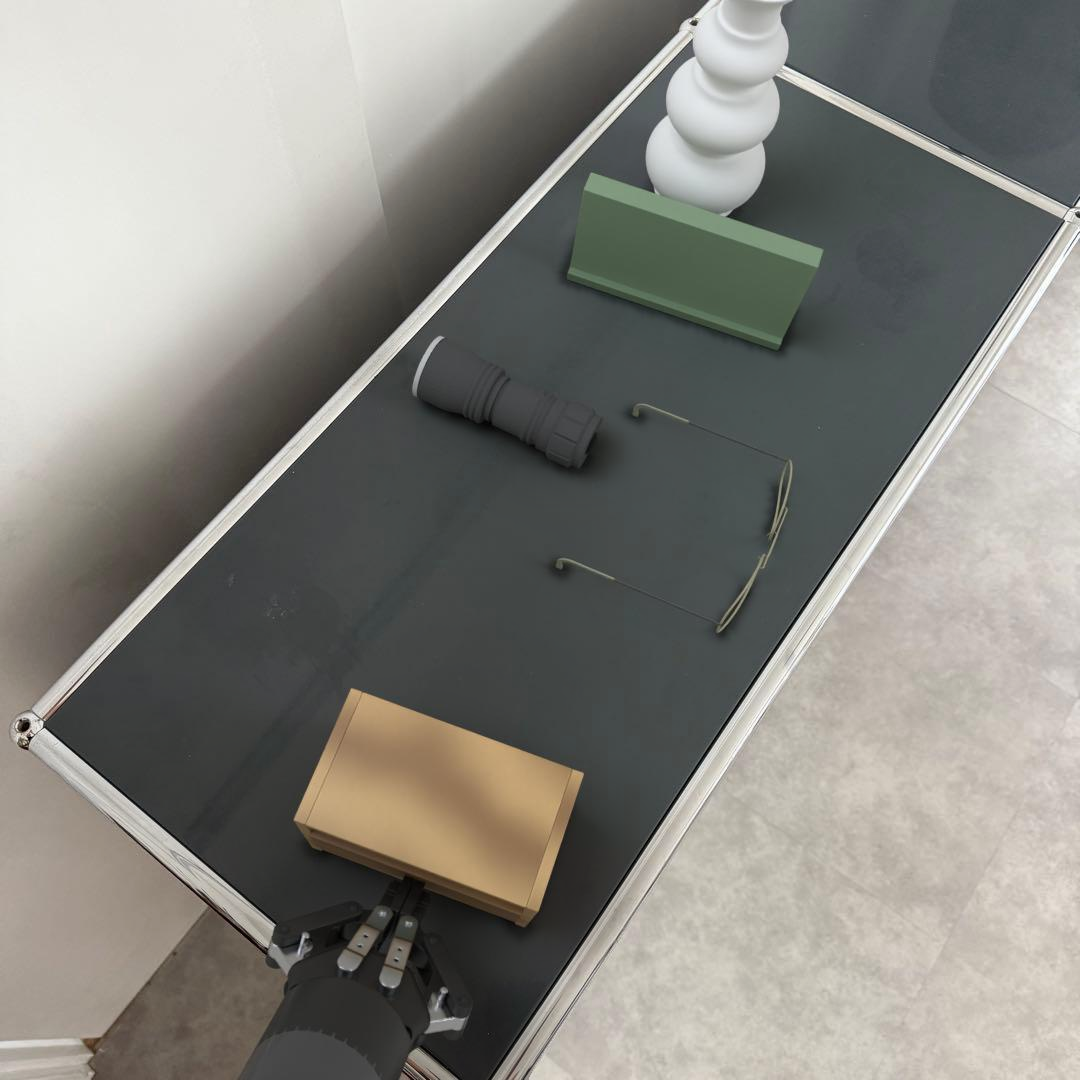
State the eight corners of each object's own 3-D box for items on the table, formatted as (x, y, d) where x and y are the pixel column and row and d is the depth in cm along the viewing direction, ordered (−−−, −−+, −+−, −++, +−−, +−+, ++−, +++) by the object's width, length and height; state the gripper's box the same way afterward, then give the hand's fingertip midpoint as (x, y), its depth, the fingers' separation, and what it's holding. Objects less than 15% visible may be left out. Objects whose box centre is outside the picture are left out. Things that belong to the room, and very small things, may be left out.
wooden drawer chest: (524, 930, 77) (537, 915, 67) (310, 850, 78) (291, 823, 68) (566, 804, 80) (584, 773, 70) (361, 729, 81) (351, 687, 71)
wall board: (777, 351, 98) (816, 274, 88) (566, 279, 99) (580, 195, 89) (790, 308, 100) (830, 228, 90) (583, 238, 101) (599, 152, 91)
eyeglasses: (727, 646, 86) (743, 625, 82) (554, 568, 88) (561, 542, 83) (793, 484, 93) (811, 456, 88) (631, 413, 94) (641, 382, 90)
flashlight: (603, 434, 93) (613, 401, 88) (577, 485, 91) (585, 454, 86) (442, 359, 95) (443, 323, 90) (412, 407, 93) (411, 373, 88)
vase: (653, 246, 102) (715, 20, 79) (625, 155, 106) (676, -84, 83) (765, 233, 104) (857, 8, 81) (733, 144, 108) (812, -94, 85)
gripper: (455, 1091, 54) (523, 880, 70) (207, 992, 55) (331, 806, 71) (415, 1195, 57) (490, 969, 73) (180, 1099, 58) (305, 897, 74)
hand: (411, 889), depth 72 cm, fingers closed
